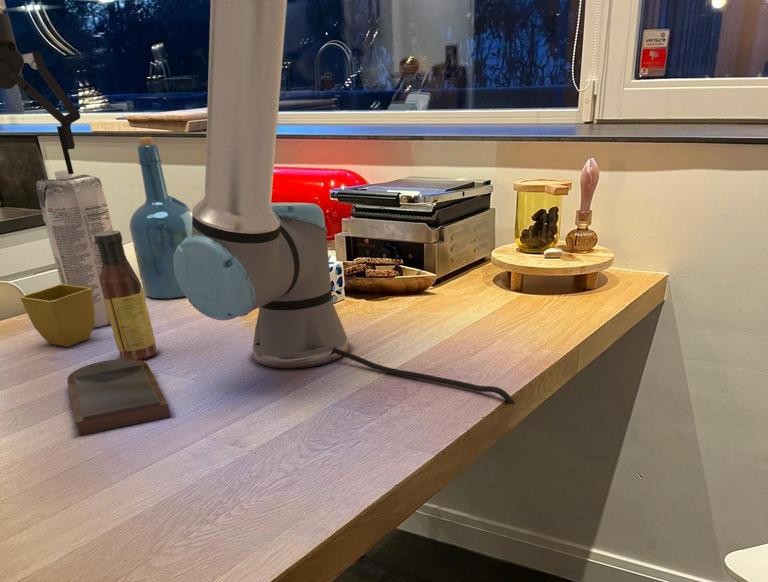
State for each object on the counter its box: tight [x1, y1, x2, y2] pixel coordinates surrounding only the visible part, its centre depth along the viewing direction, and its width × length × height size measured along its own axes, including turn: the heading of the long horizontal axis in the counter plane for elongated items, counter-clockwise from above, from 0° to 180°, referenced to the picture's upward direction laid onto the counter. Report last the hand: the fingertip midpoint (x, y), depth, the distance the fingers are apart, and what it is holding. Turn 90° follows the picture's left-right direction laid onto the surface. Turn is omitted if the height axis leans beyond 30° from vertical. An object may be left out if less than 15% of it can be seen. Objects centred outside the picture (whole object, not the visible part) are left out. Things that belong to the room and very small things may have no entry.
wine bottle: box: [129, 136, 193, 300], centre depth 160 cm, size 14×13×30 cm
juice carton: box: [35, 169, 114, 329], centre depth 144 cm, size 9×10×27 cm
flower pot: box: [20, 283, 95, 348], centre depth 138 cm, size 9×9×9 cm
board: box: [66, 358, 171, 437], centre depth 114 cm, size 24×12×2 cm, turn 23°
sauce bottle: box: [94, 230, 157, 361], centre depth 126 cm, size 7×6×20 cm
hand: (24, 178), depth 119 cm, fingers open, 13 cm apart
